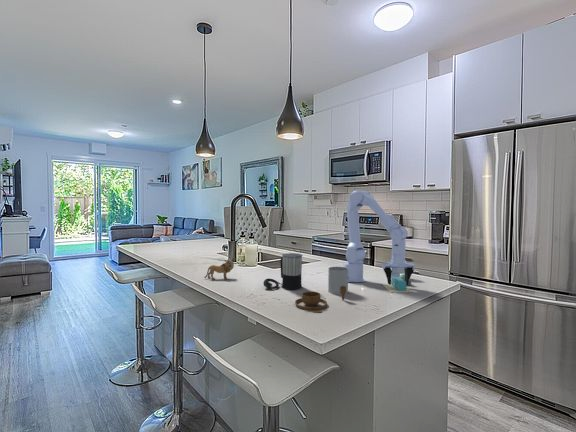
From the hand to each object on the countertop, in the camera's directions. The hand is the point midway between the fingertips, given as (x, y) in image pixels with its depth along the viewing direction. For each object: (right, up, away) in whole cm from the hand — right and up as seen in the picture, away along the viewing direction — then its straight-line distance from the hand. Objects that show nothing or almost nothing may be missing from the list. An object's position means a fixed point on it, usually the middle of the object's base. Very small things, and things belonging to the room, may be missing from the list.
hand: (397, 284), depth 145 cm
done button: (+5, 0, +7) cm, 9 cm away
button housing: (+5, -1, +7) cm, 9 cm away
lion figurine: (-84, -1, +18) cm, 85 cm away
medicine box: (+7, -1, +19) cm, 20 cm away
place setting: (-37, -3, -25) cm, 44 cm away
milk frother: (-52, -2, 0) cm, 52 cm away
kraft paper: (-1, -2, -1) cm, 2 cm away
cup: (-28, -2, -6) cm, 29 cm away
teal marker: (0, -2, -1) cm, 2 cm away
